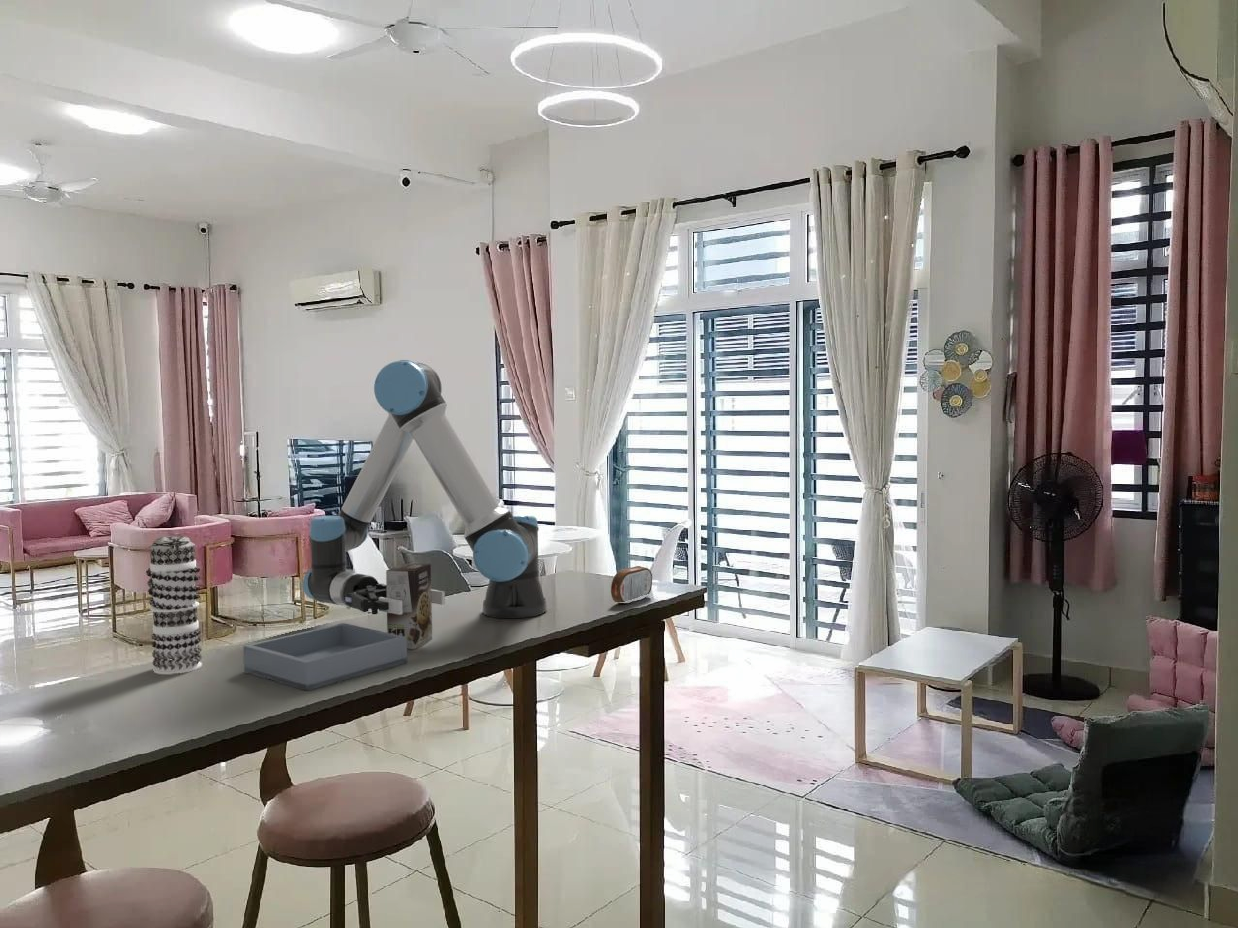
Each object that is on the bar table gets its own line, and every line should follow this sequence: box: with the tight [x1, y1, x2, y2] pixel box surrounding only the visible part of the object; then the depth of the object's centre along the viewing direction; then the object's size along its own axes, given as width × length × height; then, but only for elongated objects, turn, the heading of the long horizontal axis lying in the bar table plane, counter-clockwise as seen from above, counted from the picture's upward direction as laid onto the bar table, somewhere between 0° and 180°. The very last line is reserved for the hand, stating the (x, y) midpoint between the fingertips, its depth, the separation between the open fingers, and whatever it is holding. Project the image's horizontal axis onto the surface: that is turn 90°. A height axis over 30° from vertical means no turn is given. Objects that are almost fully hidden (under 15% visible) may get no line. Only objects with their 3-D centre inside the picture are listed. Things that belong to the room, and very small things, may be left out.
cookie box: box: [385, 563, 433, 650], centre depth 194 cm, size 9×6×16 cm
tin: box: [610, 565, 653, 603], centre depth 234 cm, size 15×3×8 cm, turn 144°
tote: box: [242, 622, 408, 692], centre depth 177 cm, size 22×20×5 cm
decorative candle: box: [145, 535, 203, 675], centre depth 178 cm, size 9×9×25 cm
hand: (422, 602), depth 192 cm, fingers closed on cookie box, 10 cm apart
